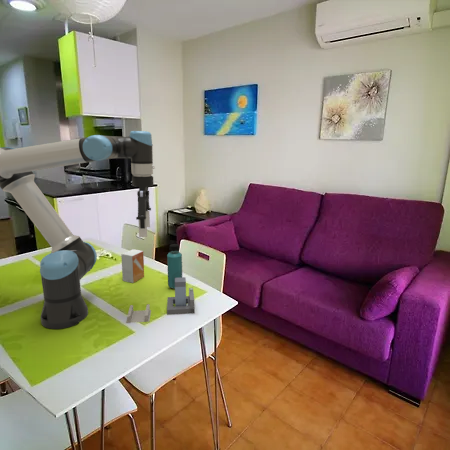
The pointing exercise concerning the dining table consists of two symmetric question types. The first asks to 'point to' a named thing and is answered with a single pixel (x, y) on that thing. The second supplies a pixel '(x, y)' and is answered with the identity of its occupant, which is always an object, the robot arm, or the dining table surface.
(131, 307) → the grey u-shaped block
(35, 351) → the dining table surface
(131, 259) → the small box
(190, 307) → the port
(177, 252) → the beverage bottle
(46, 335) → the dining table surface
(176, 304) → the plug
